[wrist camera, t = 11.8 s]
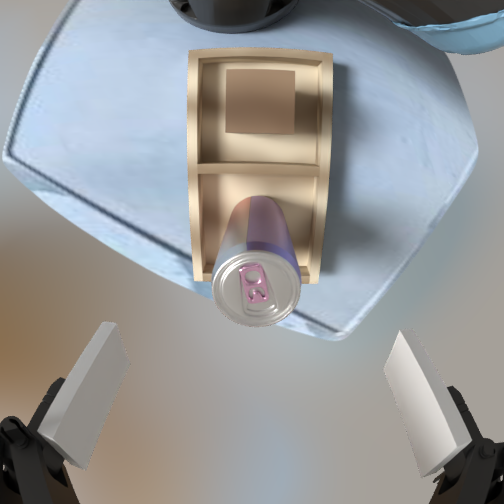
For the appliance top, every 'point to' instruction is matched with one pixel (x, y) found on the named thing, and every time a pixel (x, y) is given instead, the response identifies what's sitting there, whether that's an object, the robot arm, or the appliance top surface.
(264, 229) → the beverage can
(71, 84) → the appliance top surface
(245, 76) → the walnut block
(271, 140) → the rack
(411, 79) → the appliance top surface
